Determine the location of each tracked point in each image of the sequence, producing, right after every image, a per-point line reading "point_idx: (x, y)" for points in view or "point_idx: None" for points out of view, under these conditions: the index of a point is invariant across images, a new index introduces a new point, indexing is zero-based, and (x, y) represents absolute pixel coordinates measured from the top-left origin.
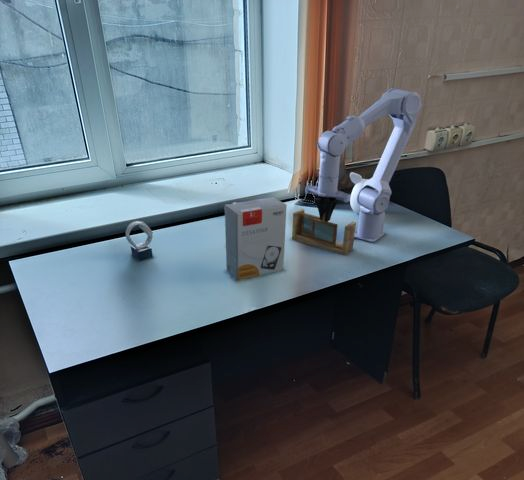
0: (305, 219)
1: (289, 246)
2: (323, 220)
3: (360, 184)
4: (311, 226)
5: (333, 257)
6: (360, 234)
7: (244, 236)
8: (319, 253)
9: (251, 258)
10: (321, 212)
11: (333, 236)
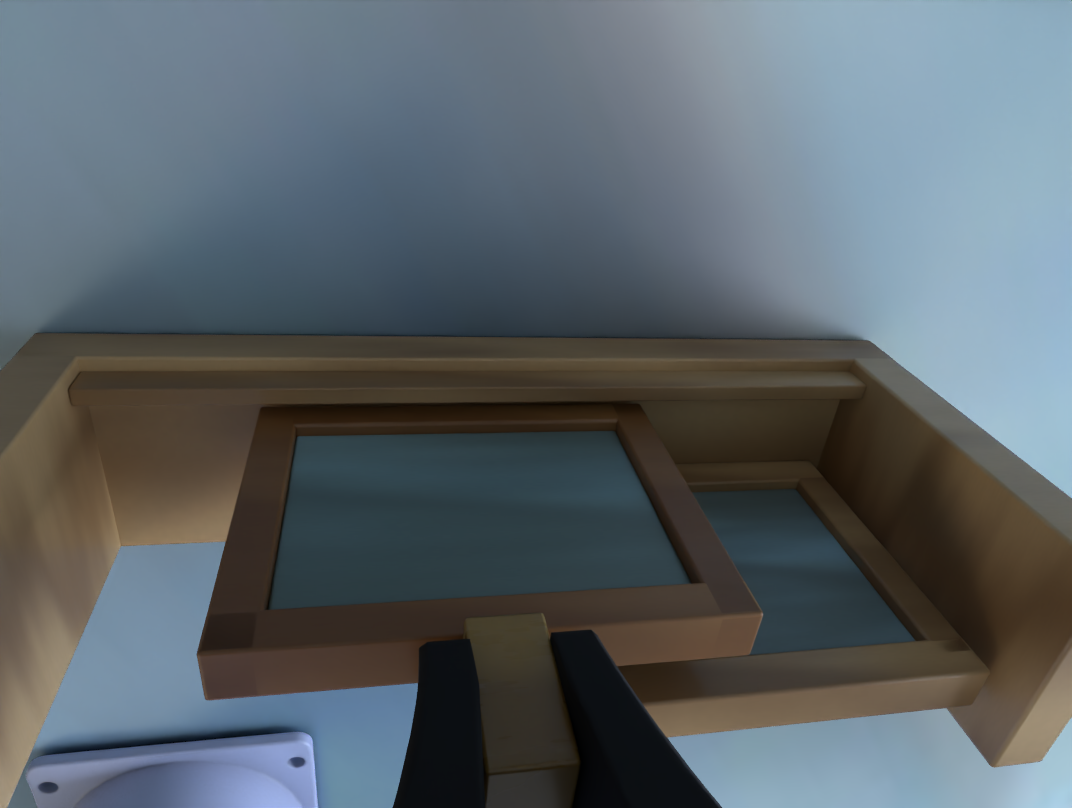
0: (873, 616)
1: (844, 137)
2: (514, 645)
3: None
4: None
5: (113, 163)
6: (207, 791)
7: None
8: (373, 170)
9: None
10: (614, 789)
11: (270, 487)
